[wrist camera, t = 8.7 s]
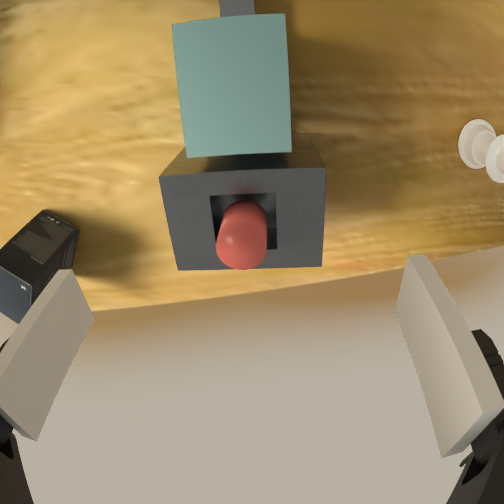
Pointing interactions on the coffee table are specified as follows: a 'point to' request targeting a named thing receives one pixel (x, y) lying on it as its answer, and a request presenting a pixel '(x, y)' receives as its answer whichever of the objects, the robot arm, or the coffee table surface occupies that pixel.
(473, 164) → the candle
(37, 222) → the box
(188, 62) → the block
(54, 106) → the coffee table surface
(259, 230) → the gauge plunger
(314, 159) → the gray button box
